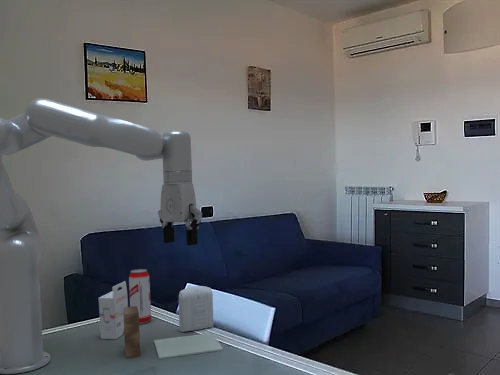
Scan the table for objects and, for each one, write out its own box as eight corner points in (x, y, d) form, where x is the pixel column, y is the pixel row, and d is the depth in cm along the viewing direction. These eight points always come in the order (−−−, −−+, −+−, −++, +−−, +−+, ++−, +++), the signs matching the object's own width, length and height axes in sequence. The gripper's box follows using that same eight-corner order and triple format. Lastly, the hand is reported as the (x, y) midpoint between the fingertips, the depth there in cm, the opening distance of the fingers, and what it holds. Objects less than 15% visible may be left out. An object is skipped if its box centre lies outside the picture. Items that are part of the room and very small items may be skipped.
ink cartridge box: (113, 329, 147) (111, 280, 147) (129, 330, 146) (127, 280, 146) (99, 339, 139) (97, 286, 138) (116, 339, 138) (113, 286, 137)
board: (159, 359, 121) (159, 357, 121) (153, 341, 134) (153, 340, 134) (223, 350, 125) (223, 348, 125) (211, 334, 139) (211, 332, 139)
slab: (126, 358, 122) (124, 314, 122) (124, 349, 129) (123, 307, 129) (140, 356, 123) (138, 312, 123) (138, 347, 130) (136, 306, 130)
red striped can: (145, 318, 158) (143, 268, 158) (155, 321, 154) (152, 270, 153) (127, 322, 154) (125, 271, 154) (136, 326, 150) (134, 273, 149)
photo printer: (210, 324, 149) (208, 283, 149) (215, 327, 145) (214, 285, 145) (177, 329, 144) (175, 287, 144) (182, 333, 141) (180, 290, 140)
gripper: (146, 179, 134) (149, 243, 134) (187, 178, 122) (190, 247, 122) (169, 179, 139) (171, 240, 139) (210, 177, 127) (213, 244, 127)
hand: (180, 243), depth 131 cm, fingers open, 9 cm apart
